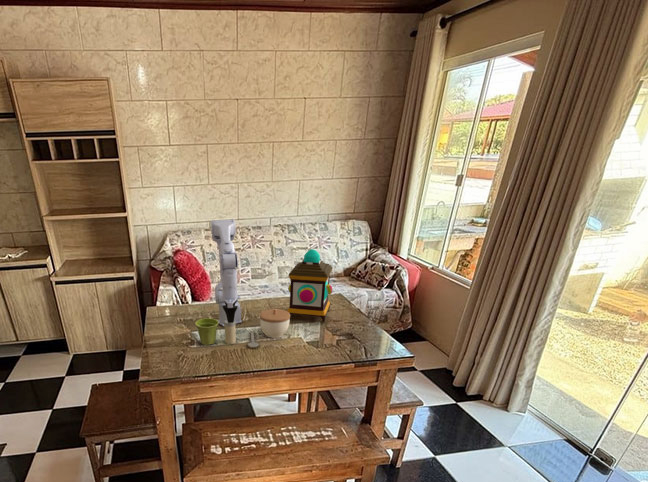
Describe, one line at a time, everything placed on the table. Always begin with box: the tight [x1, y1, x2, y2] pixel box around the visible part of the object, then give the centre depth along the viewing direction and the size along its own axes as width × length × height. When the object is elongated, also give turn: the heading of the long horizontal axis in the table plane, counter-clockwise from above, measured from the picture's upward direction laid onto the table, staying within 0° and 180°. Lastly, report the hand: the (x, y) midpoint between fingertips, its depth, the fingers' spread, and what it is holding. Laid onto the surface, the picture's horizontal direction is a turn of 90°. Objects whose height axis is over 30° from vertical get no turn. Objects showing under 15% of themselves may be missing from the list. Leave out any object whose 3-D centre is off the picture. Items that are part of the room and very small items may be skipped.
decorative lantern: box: [286, 248, 334, 324], centre depth 183 cm, size 20×20×30 cm
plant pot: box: [194, 317, 219, 346], centre depth 165 cm, size 9×9×9 cm
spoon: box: [247, 331, 260, 349], centre depth 167 cm, size 15×4×1 cm, turn 179°
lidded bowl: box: [259, 308, 291, 339], centre depth 169 cm, size 13×13×11 cm
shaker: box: [224, 320, 237, 345], centre depth 165 cm, size 5×5×9 cm
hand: (230, 318), depth 163 cm, fingers open, 7 cm apart
